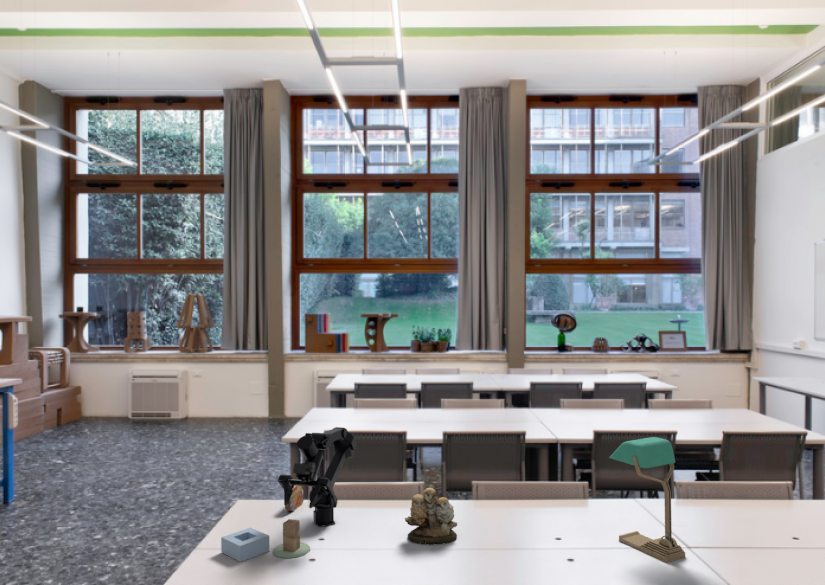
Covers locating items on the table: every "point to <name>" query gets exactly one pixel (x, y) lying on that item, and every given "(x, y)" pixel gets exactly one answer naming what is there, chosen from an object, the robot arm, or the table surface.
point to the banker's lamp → (658, 454)
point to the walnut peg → (291, 535)
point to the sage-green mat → (284, 554)
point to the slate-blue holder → (245, 544)
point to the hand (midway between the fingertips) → (297, 506)
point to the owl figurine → (431, 519)
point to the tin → (295, 498)
